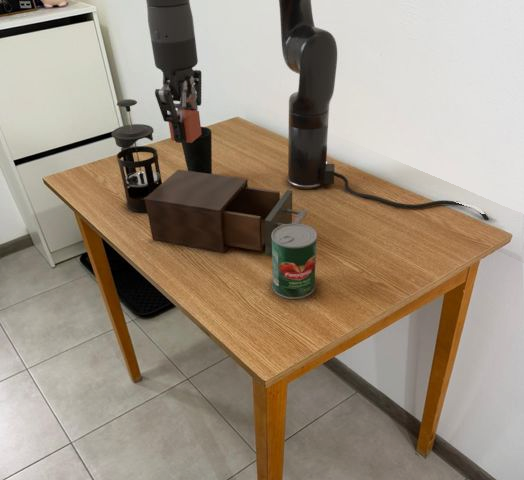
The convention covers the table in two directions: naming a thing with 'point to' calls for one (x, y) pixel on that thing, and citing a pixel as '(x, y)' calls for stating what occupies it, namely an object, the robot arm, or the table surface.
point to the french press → (136, 180)
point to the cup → (199, 153)
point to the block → (189, 125)
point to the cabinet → (192, 209)
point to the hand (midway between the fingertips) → (186, 136)
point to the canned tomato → (293, 260)
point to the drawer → (257, 217)
